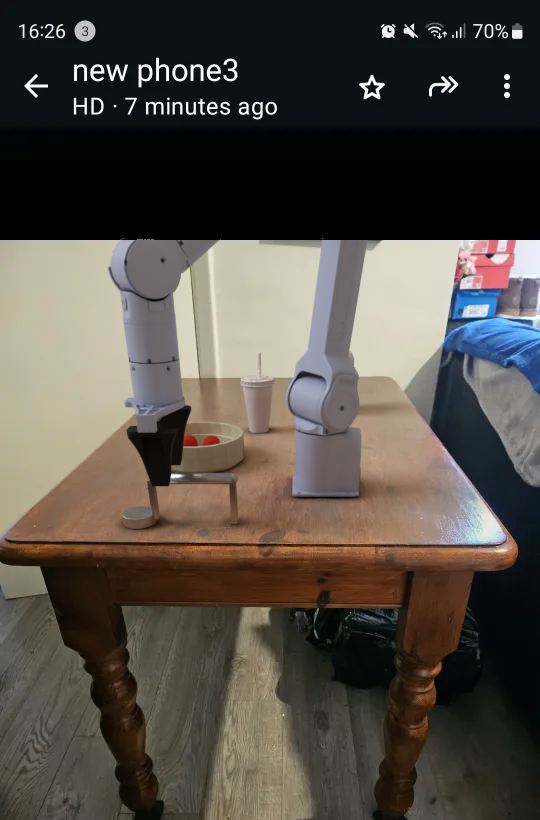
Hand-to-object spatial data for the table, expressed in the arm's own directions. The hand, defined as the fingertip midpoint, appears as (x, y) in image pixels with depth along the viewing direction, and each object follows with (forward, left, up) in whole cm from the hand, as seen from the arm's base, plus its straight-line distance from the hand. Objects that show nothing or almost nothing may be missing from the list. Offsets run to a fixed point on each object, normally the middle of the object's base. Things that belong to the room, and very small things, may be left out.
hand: (167, 474), depth 73 cm
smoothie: (-9, -44, -7) cm, 45 cm away
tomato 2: (-2, -28, -4) cm, 28 cm away
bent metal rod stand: (-1, 0, -7) cm, 7 cm away
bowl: (0, -26, -7) cm, 26 cm away
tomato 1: (+2, -28, -4) cm, 28 cm away
